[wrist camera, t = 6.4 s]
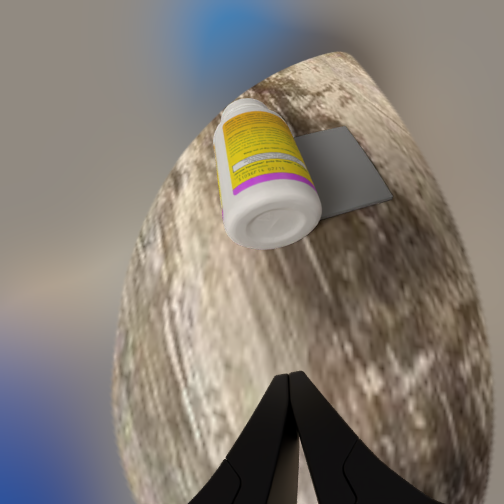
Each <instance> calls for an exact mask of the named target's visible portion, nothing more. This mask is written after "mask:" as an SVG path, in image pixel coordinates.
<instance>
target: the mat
mask: <svg viewBox="0 0 504 504" xmlns="http://www.w3.org/2000/svg"><path fill="white" fill-rule="evenodd" d="M294 140H295V143H296V145H297V147H298V149H299V152H300V154H301V156H302V158H303V161H304V163H305V165H306V168H307V170H308V172H309V175H310V177H311V179H312V182H313V184H314V186H315V189H316V191H317V194H318V196H319V199H320V202H321V205H322V214H321V218H320V220H322V219H325V218H328V217H332V216H335V215H339V214H342V213H346V212H349V211H353V210H356V209H360V208H363V207H367V206H370V205H374V204H377V203H381V202H384V201H388V200H391V199H392V198H393V196H392V194H391V193H390V191H389V189H388V188H387V186H386V184H385V183H384V181H383V180H382V178H381V176H380V175H379V173H378V172H377V170H376V169H375V167H374V166H373V164H372V163H371V161H370V160H369V158H368V157H367V155H366V154H365V152H364V151H363V150H362V148H361V147H360V145H359V144H358V143H357V141H356V140H355V138H354V137H353V136H352V134H351V133H350V132H349V130H348V129H347V128H346V126H343V127H338V128H333V129H329V130H324V131H320V132H315V133H311V134H307V135H303V136H299V137H295V138H294Z"/></svg>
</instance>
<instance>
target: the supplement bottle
mask: <svg viewBox="0 0 504 504" xmlns="http://www.w3.org/2000/svg"><path fill="white" fill-rule="evenodd" d="M213 146H214V154H215V161H216V169H217V178H218V186H219V194H220V202H221V209H222V216H223V222H224V227H225V231H226V233H227V235H228V236H229V238H230V239H231V240H232V241H234V242H235V243H237V244H238V245H240V246H243V247H247V248H251V249H258V250H266V249H275V248H280V247H284V246H287V245H290V244H292V243H294V242H297V241H298V240H300V239H302V238H303V237H305V236H306V235H308V234H309V233H310V232H311V231H312V230H313V229H314V228H315V227H316V225H317V224H318V222H319V220H320V218H321V214H322V205H321V202H320V199H319V196H318V194H317V191H316V189H315V186H314V184H313V182H312V179H311V177H310V175H309V172H308V170H307V168H306V165H305V163H304V161H303V158H302V156H301V154H300V152H299V149H298V147H297V145H296V143H295V140H294V138H293V136H292V134H291V132H290V129H289V127H288V126H287V124H286V122H285V121H284V119H283V118H282V117H281V116H280V115H278V114H277V113H275V112H274V111H272V110H269V109H268V108H267V107H266V105H265V104H263V103H262V102H260V101H258V100H256V99H250V98H246V99H240V100H237V101H235V102H233V103H231V104H230V105H229V106H227V108H226V109H225V110H224V112H223V114H222V117H221V122H220V124H219V125H218V127H217V129H216V131H215V134H214V139H213Z"/></svg>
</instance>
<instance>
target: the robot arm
mask: <svg viewBox="0 0 504 504" xmlns="http://www.w3.org/2000/svg"><path fill="white" fill-rule="evenodd" d="M299 437H300V440H301V444H302V448H303V451H304V455H305V458H306V462H307V465H308V469H309V472H310V476H311V480H312V483H313V487H314V490H315V494H316V497H317V501H318V504H444V503H441V502H439V501H436V500H434V499H432V498H430V497H429V496H427V495H425V494H424V493H422V492H421V491H420V490H418V489H417V488H415V487H414V486H413V485H411V484H410V483H409V482H407V481H406V480H405V479H403V478H402V477H401V476H399V475H398V474H397V473H395V472H394V471H393V470H391V469H390V468H389V467H388V466H387V465H386V464H384V463H383V462H382V461H381V460H380V459H379V458H378V457H377V456H376V455H375V454H374V453H373V452H372V451H371V450H370V449H369V448H368V447H367V446H366V445H365V444H364V443H363V441H362V440H361V439H359V437H358V436H357V435H356V434H355V432H354V431H353V430H352V429H351V428H350V427H349V426H348V424H347V423H346V422H345V421H344V420H343V419H342V417H341V416H340V415H339V414H338V413H337V411H336V410H335V409H334V408H333V407H332V406H331V404H330V403H329V402H328V401H327V400H326V398H325V397H324V396H323V395H322V394H321V392H320V391H319V390H318V389H317V388H316V386H315V385H314V384H313V383H312V382H311V380H310V379H309V378H308V377H307V375H306V374H305V373H304V372H303V371H296V372H291V373H290V374H289V375H288V374H287V373H286V374H280V375H276V376H274V378H273V380H272V382H271V383H270V385H269V387H268V389H267V390H266V392H265V394H264V396H263V397H262V399H261V401H260V403H259V404H258V406H257V408H256V409H255V411H254V413H253V414H252V416H251V418H250V419H249V421H248V423H247V424H246V426H245V428H244V429H243V431H242V432H241V434H240V436H239V437H238V439H237V440H236V442H235V443H234V445H233V447H232V448H231V450H230V451H229V453H228V454H227V456H226V459H227V460H226V459H224V460H223V462H222V463H221V465H220V466H219V468H218V469H217V470H216V472H215V473H214V474H213V476H212V477H211V478H210V480H209V481H208V482H207V483H206V485H205V486H204V487H203V488H202V489H201V490H200V491H199V492H198V494H197V495H196V496H195V497H194V498H193V499H192V500H191V501H190V502H189V503H188V504H297V490H298V470H299Z"/></svg>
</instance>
